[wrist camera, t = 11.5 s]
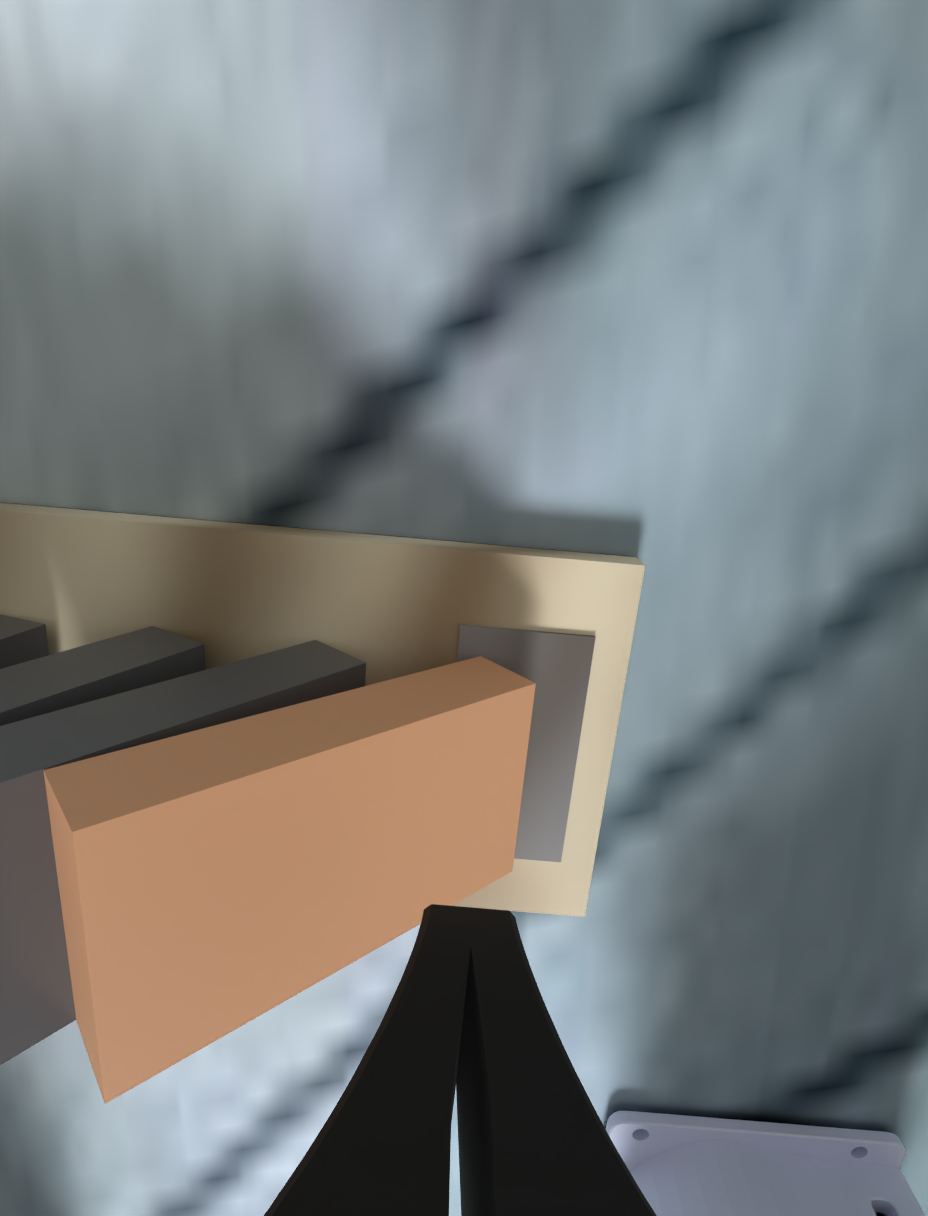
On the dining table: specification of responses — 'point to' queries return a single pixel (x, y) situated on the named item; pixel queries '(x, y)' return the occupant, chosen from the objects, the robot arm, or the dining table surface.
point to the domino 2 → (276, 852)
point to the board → (368, 635)
